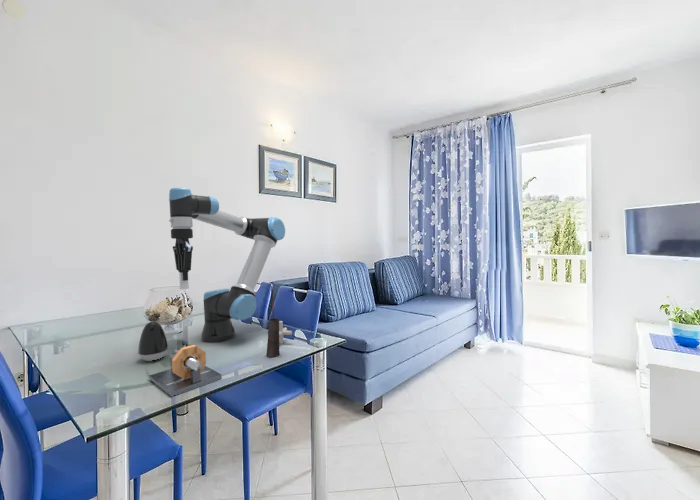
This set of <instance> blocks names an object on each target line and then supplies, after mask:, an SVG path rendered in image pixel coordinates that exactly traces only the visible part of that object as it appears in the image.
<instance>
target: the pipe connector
mask: <svg viewBox="0 0 700 500" xmlns="http://www.w3.org/2000/svg"><path fill="white" fill-rule="evenodd" d="M284 335H286V336H287V335H288V336H292V335H293V331H292V330H288V328H287V327H284V323H283V321H282V320H279V343H280V344H279V345H284Z"/></svg>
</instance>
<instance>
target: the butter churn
mask: <svg viewBox="0 0 700 500" xmlns="http://www.w3.org/2000/svg"><path fill="white" fill-rule="evenodd" d="M270 293H271V304H272V305H271V307H272V308H271V309H272V318H269V320H268V329H267V330H268V332H267V343H266V346H267V347H266V356H267V358H275V357H278V356H279V355H280V345H281V344H280V343H279V321H280V319H279V318H277V317H275V312H274V311H275V309H274V296H273V294H274V292H273V286H272V285H271V286H270Z"/></svg>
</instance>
